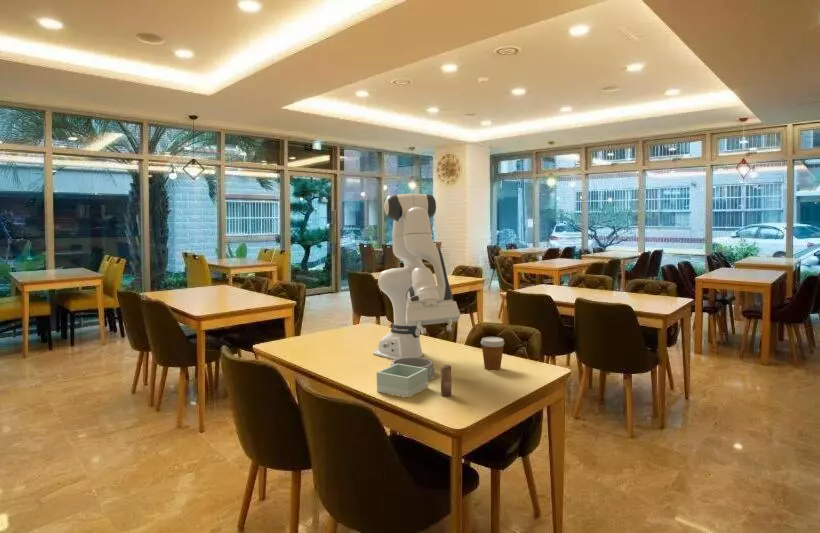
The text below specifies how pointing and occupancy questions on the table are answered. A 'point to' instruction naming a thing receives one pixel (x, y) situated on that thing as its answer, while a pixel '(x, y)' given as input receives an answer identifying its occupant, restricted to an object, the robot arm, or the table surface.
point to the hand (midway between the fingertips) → (436, 332)
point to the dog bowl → (417, 364)
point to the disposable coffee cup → (492, 352)
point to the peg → (446, 381)
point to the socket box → (402, 380)
